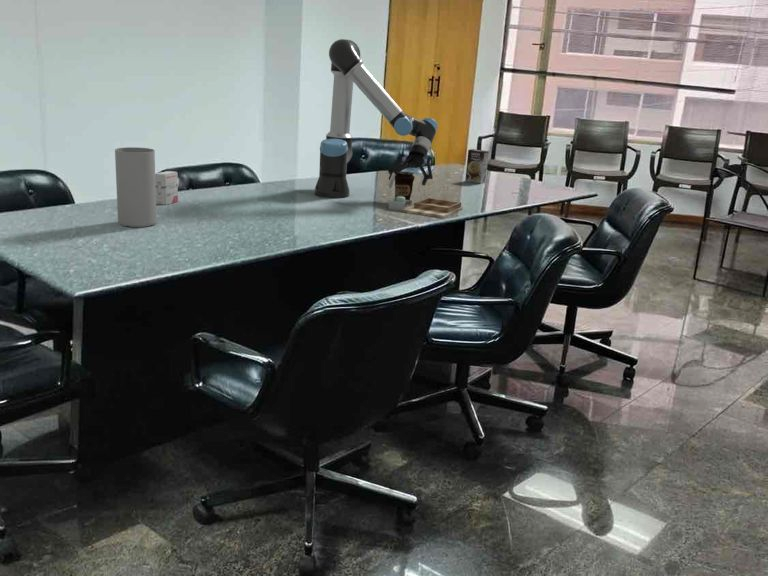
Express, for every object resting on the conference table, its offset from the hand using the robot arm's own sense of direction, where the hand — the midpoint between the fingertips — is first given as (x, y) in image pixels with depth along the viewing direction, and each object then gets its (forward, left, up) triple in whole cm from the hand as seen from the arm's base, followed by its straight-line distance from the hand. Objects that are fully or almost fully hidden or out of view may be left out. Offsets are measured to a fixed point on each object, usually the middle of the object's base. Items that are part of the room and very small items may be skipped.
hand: (404, 188), depth 324 cm
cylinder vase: (-56, -98, -7) cm, 113 cm away
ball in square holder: (+4, -12, -6) cm, 14 cm away
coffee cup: (0, 0, -7) cm, 7 cm away
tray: (+16, -6, -6) cm, 18 cm away
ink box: (-72, -64, -7) cm, 97 cm away
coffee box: (+6, +79, -7) cm, 80 cm away
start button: (+4, -12, -5) cm, 13 cm away
